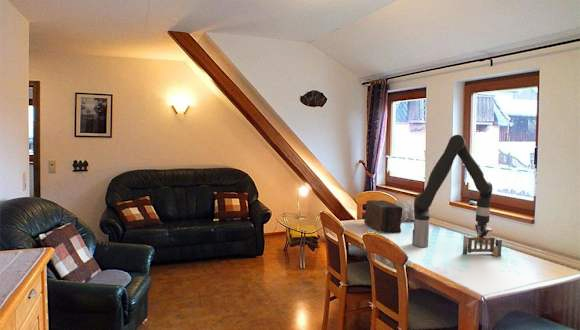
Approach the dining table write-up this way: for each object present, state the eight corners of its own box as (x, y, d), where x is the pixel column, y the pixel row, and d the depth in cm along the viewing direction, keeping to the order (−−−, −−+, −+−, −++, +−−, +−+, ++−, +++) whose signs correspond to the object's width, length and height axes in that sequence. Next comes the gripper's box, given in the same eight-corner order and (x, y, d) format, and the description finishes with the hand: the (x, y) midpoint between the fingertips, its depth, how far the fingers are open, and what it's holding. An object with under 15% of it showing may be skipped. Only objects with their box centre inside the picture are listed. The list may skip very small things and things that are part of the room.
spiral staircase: (391, 224, 341) (419, 222, 346) (400, 219, 325) (429, 217, 330) (387, 203, 347) (415, 201, 352) (395, 197, 331) (424, 195, 336)
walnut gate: (468, 252, 248) (469, 238, 248) (467, 251, 250) (468, 237, 249) (493, 252, 250) (494, 237, 249) (492, 251, 252) (493, 237, 251)
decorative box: (383, 224, 327) (360, 223, 321) (386, 199, 326) (364, 197, 320) (404, 235, 298) (379, 233, 292) (408, 207, 297) (383, 205, 291)
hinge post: (463, 254, 248) (464, 236, 247) (462, 253, 250) (463, 235, 249) (467, 254, 248) (468, 236, 247) (466, 253, 250) (467, 235, 249)
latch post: (493, 256, 246) (494, 240, 245) (490, 254, 250) (491, 238, 249) (502, 256, 245) (503, 240, 245) (499, 254, 250) (500, 239, 249)
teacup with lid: (494, 243, 275) (495, 226, 274) (481, 243, 274) (482, 226, 273) (483, 238, 287) (484, 222, 286) (471, 238, 285) (472, 222, 284)
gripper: (471, 211, 258) (469, 238, 260) (481, 216, 245) (479, 244, 247) (483, 211, 258) (481, 238, 260) (494, 216, 245) (492, 245, 247)
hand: (480, 241), depth 253 cm, fingers closed
